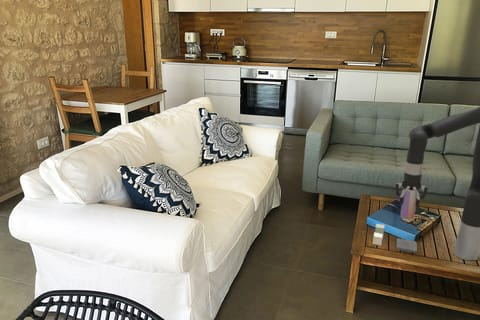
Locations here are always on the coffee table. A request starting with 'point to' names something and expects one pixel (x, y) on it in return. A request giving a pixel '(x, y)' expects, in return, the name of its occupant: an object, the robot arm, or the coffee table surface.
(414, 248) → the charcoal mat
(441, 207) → the coffee table surface
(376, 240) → the cream block
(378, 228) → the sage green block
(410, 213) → the beverage can
